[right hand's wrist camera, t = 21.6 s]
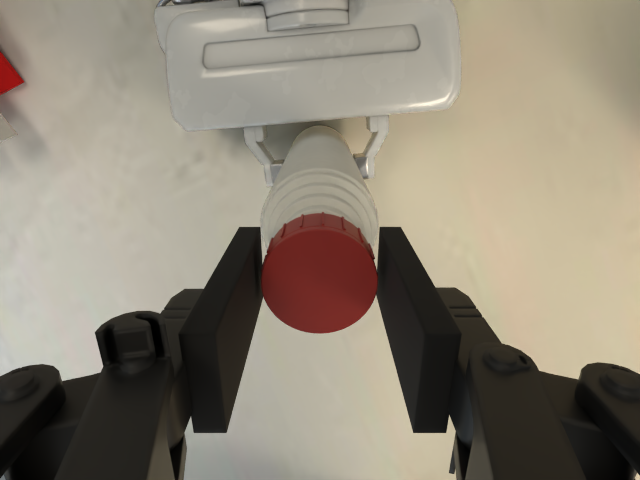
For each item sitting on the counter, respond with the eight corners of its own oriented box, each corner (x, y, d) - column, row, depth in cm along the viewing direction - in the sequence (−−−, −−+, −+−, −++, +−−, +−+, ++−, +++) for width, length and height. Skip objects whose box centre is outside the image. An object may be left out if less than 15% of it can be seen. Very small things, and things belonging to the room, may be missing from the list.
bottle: (313, 112, 35) (299, 164, 12) (360, 149, 36) (432, 260, 13) (278, 162, 37) (209, 291, 14) (325, 195, 38) (335, 366, 15)
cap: (331, 325, 15) (332, 353, 14) (245, 273, 15) (236, 297, 13) (394, 250, 14) (404, 272, 13) (305, 189, 13) (303, 204, 12)
